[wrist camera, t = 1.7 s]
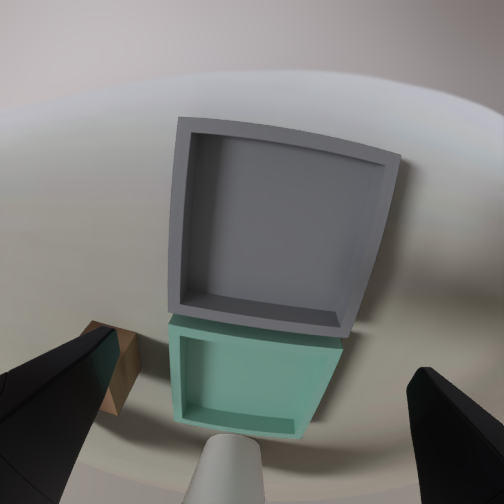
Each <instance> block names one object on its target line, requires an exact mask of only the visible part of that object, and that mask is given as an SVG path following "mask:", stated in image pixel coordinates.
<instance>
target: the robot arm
mask: <svg viewBox="0 0 504 504" xmlns="http://www.w3.org/2000/svg"><path fill="white" fill-rule="evenodd" d="M119 355H120V347H119V341H118V335H117V331H116V329H115V328H113V327H109V326H105V325H102V326H100V327H98V328H96V329H94V330H91V331H89V332H87V333H85V334H83V335H81V336H79V337H77V338H75V339H73V340H71V341H69V342H67V343H65V344H63V345H61V346H59V347H57V348H55V349H52V350H50V351H48V352H46V353H44V354H42V355H40V356H38V357H36V358H34V359H32V360H30V361H28V362H26V363H24V364H22V365H20V366H18V367H16V368H13V369H11V370H9V371H8V372H5V373H3V374H1V375H0V504H59V502H60V499H61V496H62V494H63V491H64V489H65V486H66V484H67V481H68V479H69V476H70V474H71V471H72V469H73V467H74V464H75V462H76V459H77V457H78V455H79V453H80V450H81V448H82V446H83V443H84V441H85V439H86V437H87V434H88V432H89V430H90V428H91V426H92V424H93V421H94V419H95V417H96V415H97V413H98V411H99V409H100V407H101V404H102V402H103V400H104V398H105V395H106V392H107V389H108V386H109V384H110V381H111V378H112V375H113V372H114V370H115V367H116V364H117V361H118V359H119ZM406 393H407V401H408V410H409V420H410V429H411V436H412V442H413V447H414V453H415V459H416V465H417V471H418V478H419V486H420V494H421V503H422V504H504V426H503V424H502V423H501V422H499V421H498V420H497V419H496V418H494V417H493V416H492V415H491V414H489V413H488V412H487V411H486V410H484V409H483V408H482V407H481V406H479V405H478V404H477V403H476V402H474V401H473V400H472V399H471V398H469V397H468V396H467V395H466V394H464V393H463V392H462V391H461V390H459V389H458V388H457V387H456V386H454V385H453V384H452V383H451V382H449V381H448V380H447V379H445V378H444V377H443V376H442V375H440V374H439V373H438V372H437V371H435V370H434V369H433V368H431V367H420V368H419V369H417V371H416V372H415V374H414V376H413V377H412V379H411V381H410V382H409V384H408V386H407V390H406Z"/></svg>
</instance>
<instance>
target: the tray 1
mask: <svg viewBox="0 0 504 504" xmlns="http://www.w3.org/2000/svg"><path fill="white" fill-rule="evenodd" d="M400 159H401V155H400V154H396V153H393V152H390V151H386V150H382V149H379V148H375V147H371V146H368V145H364V144H360V143H356V142H352V141H347V140H343V139H339V138H334V137H330V136H325V135H320V134H315V133H310V132H305V131H299V130H294V129H288V128H282V127H275V126H269V125H262V124H254V123H247V122H238V121H229V120H219V119H207V118H194V117H178V125H177V133H176V142H175V152H174V163H173V175H172V188H171V203H170V221H169V246H168V312H170V313H175V314H180V315H185V316H190V317H196V318H201V319H207V320H212V321H218V322H224V323H230V324H236V325H243V326H249V327H256V328H263V329H270V330H278V331H285V332H293V333H302V334H310V335H320V336H330V337H340V338H348V337H349V334H350V332H351V329H352V327H353V324H354V321H355V319H356V316H357V313H358V311H359V308H360V305H361V302H362V299H363V297H364V294H365V291H366V288H367V285H368V282H369V279H370V276H371V273H372V269H373V266H374V263H375V260H376V257H377V253H378V250H379V246H380V243H381V239H382V236H383V232H384V229H385V225H386V221H387V217H388V213H389V209H390V205H391V201H392V197H393V192H394V188H395V183H396V179H397V174H398V169H399V164H400Z"/></svg>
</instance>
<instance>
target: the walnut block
mask: <svg viewBox="0 0 504 504" xmlns="http://www.w3.org/2000/svg"><path fill="white" fill-rule="evenodd" d="M102 325H105V326H109V327H113V328H115V329H116V331H117V335H118V341H119V347H120V355H119V359H118V361H117V364H116V367H115V370H114V372H113V375H112V378H111V381H110V384H109V386H108V389H107V392H106V395H105V398H104V400H103V402H102V404H101V407H100V409H99V410H102V411H105V412H108V413H110V414H113V415H116V416H119V413H120V411H121V409H122V407H123V405H124V403H125V401H126V399H127V397H128V395H129V393H130V391H131V389H132V386H133V384H134V382H135V380H136V378H137V376H138V374H139V372H140V370H141V364H140V357H139V349H138V341H137V333H136V332H133V331H129V330H125V329H121V328H117V327H114V326H110V325H107V324H103V323H99V322H96V321H93V320H92V321H91V323H90V324H89V325H88V326H87V327H86V329H85V330H84V331H83V332H82V333H81V335H83V334H85V333H87V332H89V331H91V330H94V329H96V328H98V327H100V326H102ZM81 335H80V336H81Z"/></svg>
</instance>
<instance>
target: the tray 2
mask: <svg viewBox="0 0 504 504" xmlns="http://www.w3.org/2000/svg"><path fill="white" fill-rule="evenodd" d="M168 331H169V356H170V374H171V389H172V401H173V412H174V421H176V422H180V423H185V424H189V425H194V426H199V427H204V428H209V429H215V430H221V431H227V432H234V433H241V434H249V435H258V436H267V437H279V438H294V439H301V438H302V436H303V434H304V432H305V430H306V428H307V427H308V425H309V423H310V421H311V419H312V417H313V415H314V413H315V411H316V409H317V407H318V405H319V403H320V401H321V399H322V397H323V394H324V392H325V390H326V388H327V386H328V384H329V382H330V379H331V377H332V375H333V373H334V370H335V368H336V366H337V363H338V361H339V359H340V356H341V354H342V352H343V346H342V342H341V339H340V337H330V336H320V335H310V334H302V333H293V332H285V331H278V330H270V329H263V328H256V327H249V326H243V325H236V324H230V323H224V322H218V321H212V320H207V319H201V318H196V317H190V316H185V315H180V314H175V313H174V314H173V316H172V318H171V320H170V322H169V324H168Z"/></svg>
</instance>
